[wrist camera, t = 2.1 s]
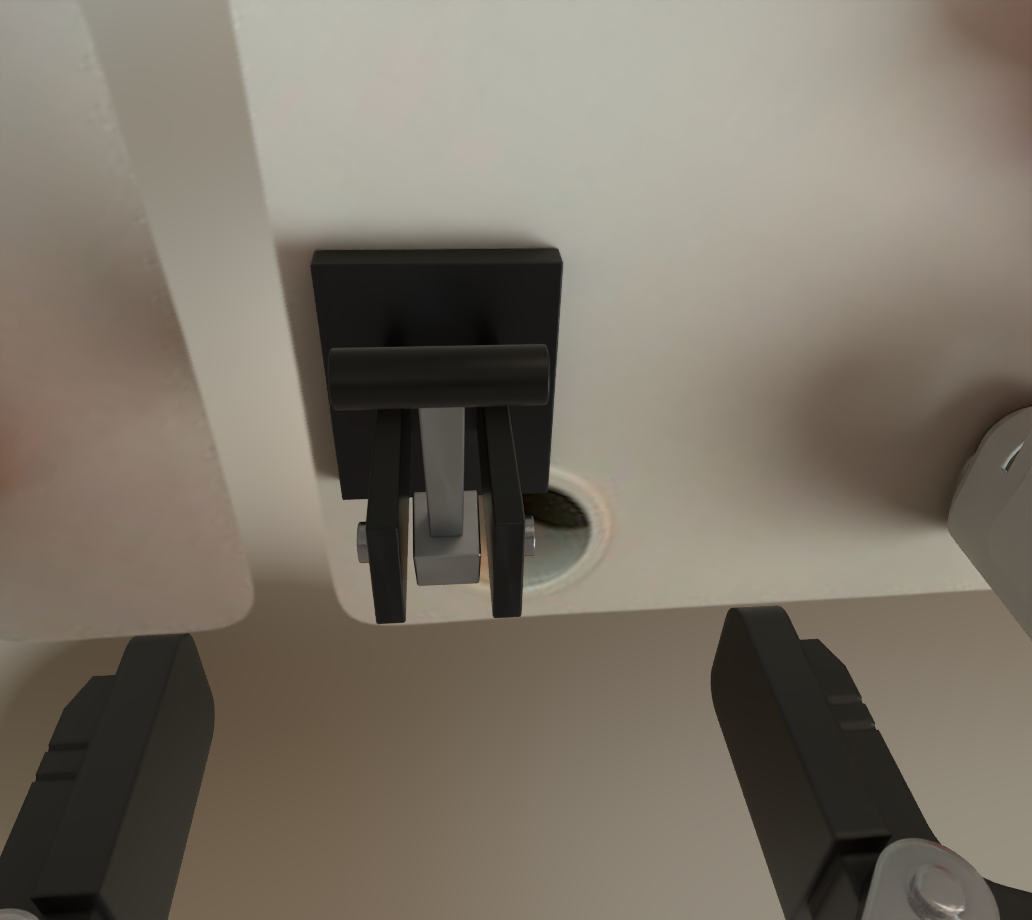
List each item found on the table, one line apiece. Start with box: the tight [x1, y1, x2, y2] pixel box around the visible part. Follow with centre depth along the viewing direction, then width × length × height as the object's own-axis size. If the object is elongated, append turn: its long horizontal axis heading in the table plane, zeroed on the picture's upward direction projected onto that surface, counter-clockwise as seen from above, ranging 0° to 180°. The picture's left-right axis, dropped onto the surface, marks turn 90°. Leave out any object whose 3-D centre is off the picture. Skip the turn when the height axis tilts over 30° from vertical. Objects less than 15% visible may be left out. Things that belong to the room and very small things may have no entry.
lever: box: [328, 344, 550, 586], centre depth 23 cm, size 12×5×2 cm, turn 179°
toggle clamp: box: [310, 249, 563, 624], centre depth 31 cm, size 12×10×13 cm
